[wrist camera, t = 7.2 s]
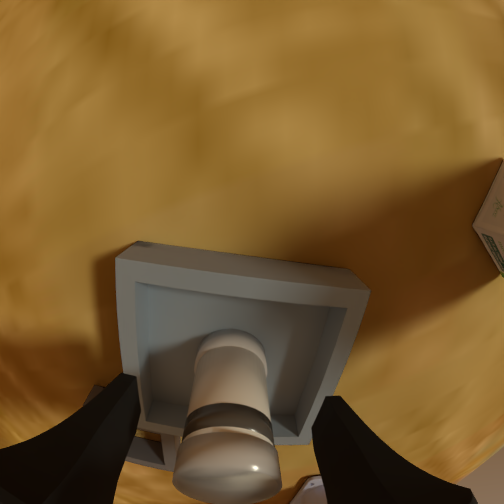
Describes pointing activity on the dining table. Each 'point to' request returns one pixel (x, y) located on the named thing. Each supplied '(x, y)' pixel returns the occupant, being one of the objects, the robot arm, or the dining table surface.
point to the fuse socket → (149, 446)
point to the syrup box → (493, 221)
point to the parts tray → (234, 317)
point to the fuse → (228, 425)
